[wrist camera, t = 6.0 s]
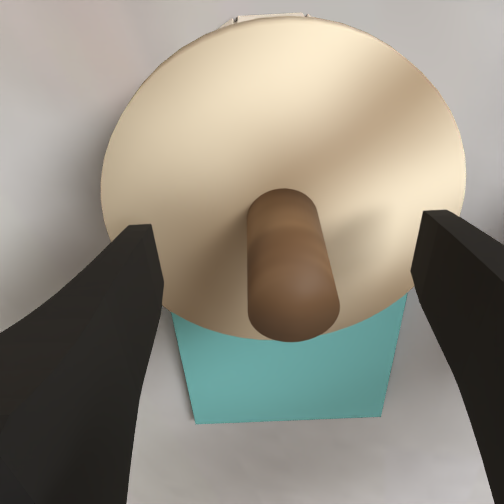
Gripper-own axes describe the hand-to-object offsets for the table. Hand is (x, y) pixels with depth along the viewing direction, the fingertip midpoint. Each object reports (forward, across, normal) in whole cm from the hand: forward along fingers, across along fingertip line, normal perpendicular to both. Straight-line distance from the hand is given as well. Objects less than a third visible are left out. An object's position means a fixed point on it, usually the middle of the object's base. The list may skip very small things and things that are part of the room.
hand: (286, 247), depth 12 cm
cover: (+3, 0, 0) cm, 3 cm away
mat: (+7, -1, +13) cm, 15 cm away
